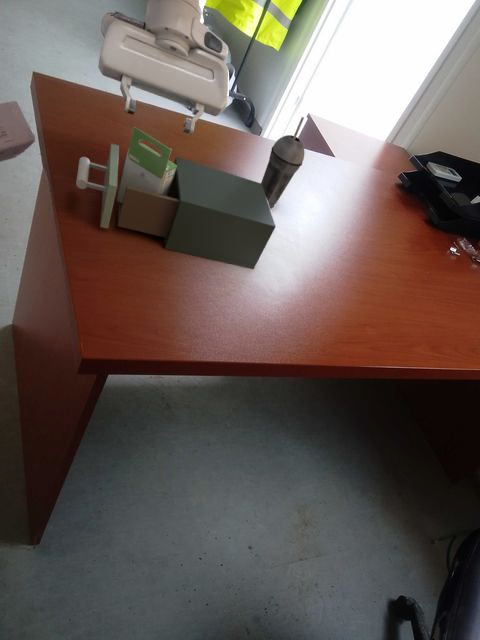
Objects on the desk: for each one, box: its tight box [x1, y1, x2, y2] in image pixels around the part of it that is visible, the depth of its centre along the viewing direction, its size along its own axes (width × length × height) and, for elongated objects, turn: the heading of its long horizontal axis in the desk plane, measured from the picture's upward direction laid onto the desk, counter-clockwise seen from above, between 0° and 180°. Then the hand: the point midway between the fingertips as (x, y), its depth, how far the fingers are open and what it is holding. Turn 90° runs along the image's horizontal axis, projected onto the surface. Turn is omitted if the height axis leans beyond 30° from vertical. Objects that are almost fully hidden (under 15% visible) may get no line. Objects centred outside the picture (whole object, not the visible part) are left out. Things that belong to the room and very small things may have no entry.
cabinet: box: [163, 156, 276, 270], centre depth 82 cm, size 17×14×10 cm
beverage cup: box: [260, 116, 306, 209], centre depth 97 cm, size 7×7×20 cm
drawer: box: [75, 143, 179, 238], centre depth 77 cm, size 20×13×8 cm, turn 103°
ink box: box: [116, 126, 177, 203], centre depth 74 cm, size 7×4×13 cm, turn 69°
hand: (159, 122), depth 73 cm, fingers open, 8 cm apart
